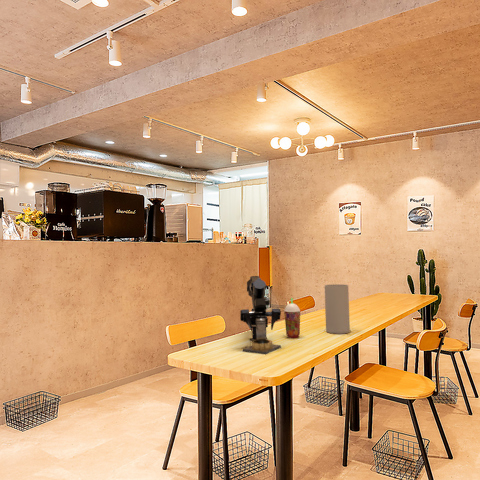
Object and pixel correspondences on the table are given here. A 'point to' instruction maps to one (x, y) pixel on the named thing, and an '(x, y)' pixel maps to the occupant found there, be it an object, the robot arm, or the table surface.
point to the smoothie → (292, 320)
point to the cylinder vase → (337, 309)
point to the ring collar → (261, 347)
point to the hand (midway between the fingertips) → (261, 329)
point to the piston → (261, 330)
